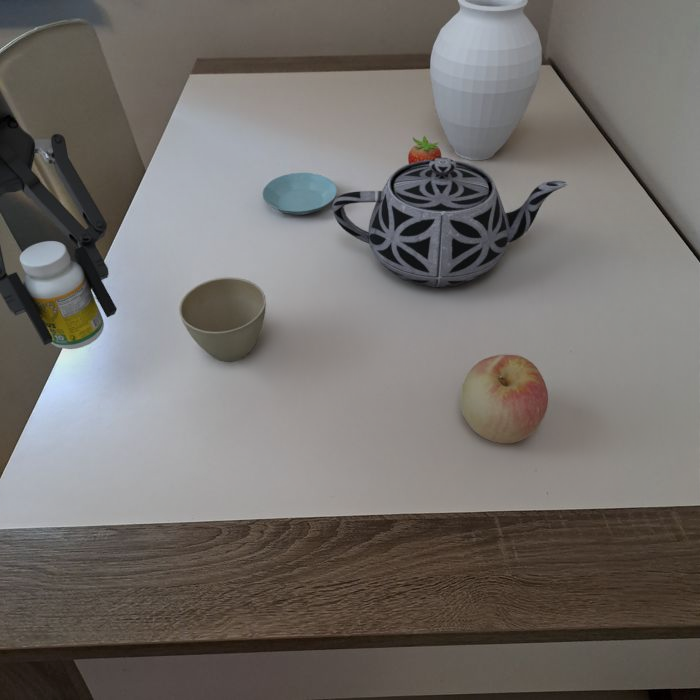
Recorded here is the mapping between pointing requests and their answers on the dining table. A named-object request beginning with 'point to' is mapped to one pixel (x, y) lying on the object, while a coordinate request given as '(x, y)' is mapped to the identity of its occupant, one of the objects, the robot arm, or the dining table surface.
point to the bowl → (224, 316)
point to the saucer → (299, 193)
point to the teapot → (440, 221)
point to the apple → (504, 398)
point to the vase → (484, 74)
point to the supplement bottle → (61, 295)
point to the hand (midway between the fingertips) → (80, 326)
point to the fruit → (423, 151)
